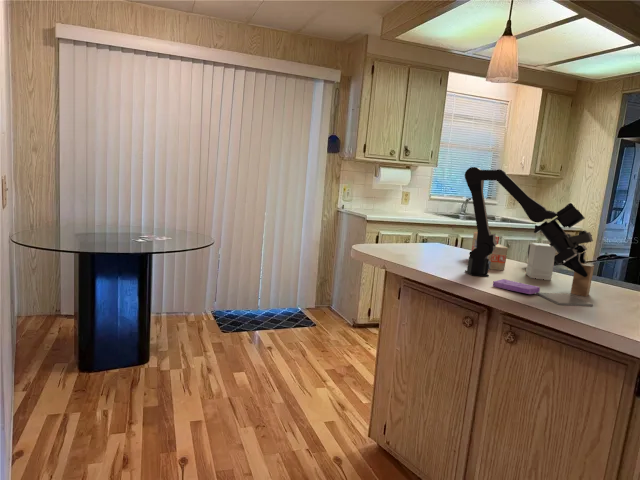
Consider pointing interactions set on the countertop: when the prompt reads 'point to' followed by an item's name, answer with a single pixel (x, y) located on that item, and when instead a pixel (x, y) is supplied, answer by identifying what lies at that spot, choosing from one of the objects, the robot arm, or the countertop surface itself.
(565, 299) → the coaster
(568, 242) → the robot arm
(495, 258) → the tan cardboard box
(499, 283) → the sponges
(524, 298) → the countertop surface
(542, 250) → the supplement box
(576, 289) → the walnut block
